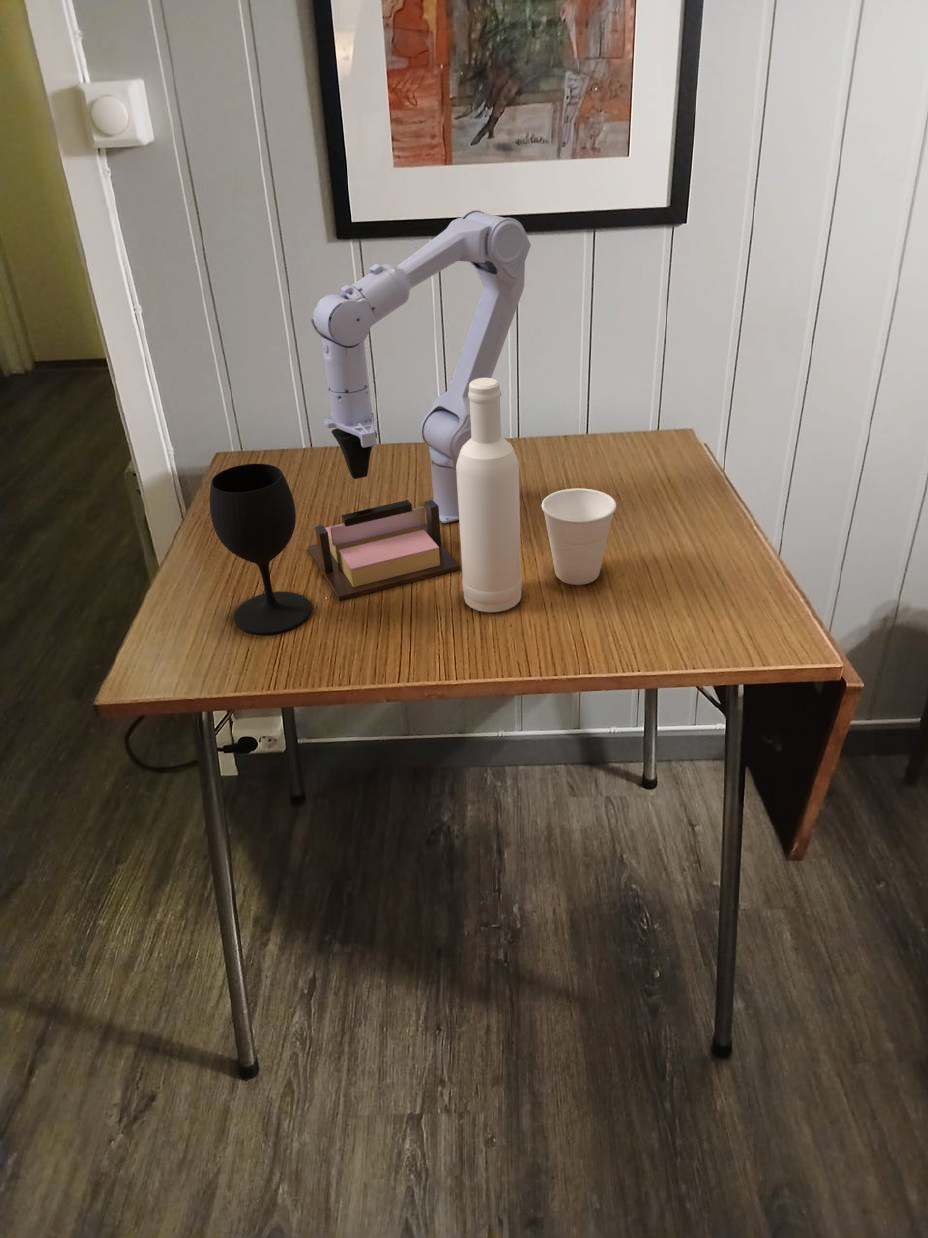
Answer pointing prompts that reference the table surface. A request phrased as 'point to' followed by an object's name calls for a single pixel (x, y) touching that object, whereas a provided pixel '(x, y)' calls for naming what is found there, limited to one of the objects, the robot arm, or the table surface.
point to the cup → (578, 532)
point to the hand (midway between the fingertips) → (359, 476)
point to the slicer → (346, 590)
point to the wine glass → (258, 540)
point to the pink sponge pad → (385, 555)
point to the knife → (377, 522)
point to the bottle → (489, 506)
